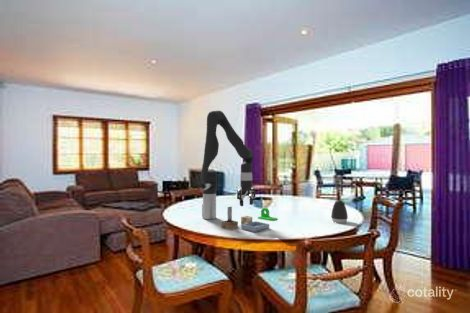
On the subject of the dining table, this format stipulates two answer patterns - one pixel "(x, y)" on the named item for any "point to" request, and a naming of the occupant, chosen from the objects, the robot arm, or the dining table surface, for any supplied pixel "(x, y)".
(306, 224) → the dining table surface
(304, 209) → the dining table surface
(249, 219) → the block
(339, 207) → the dark grey domed speaker
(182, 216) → the dining table surface
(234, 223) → the wooden square socket
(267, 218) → the mechanical part
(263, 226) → the tray
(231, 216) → the rod
